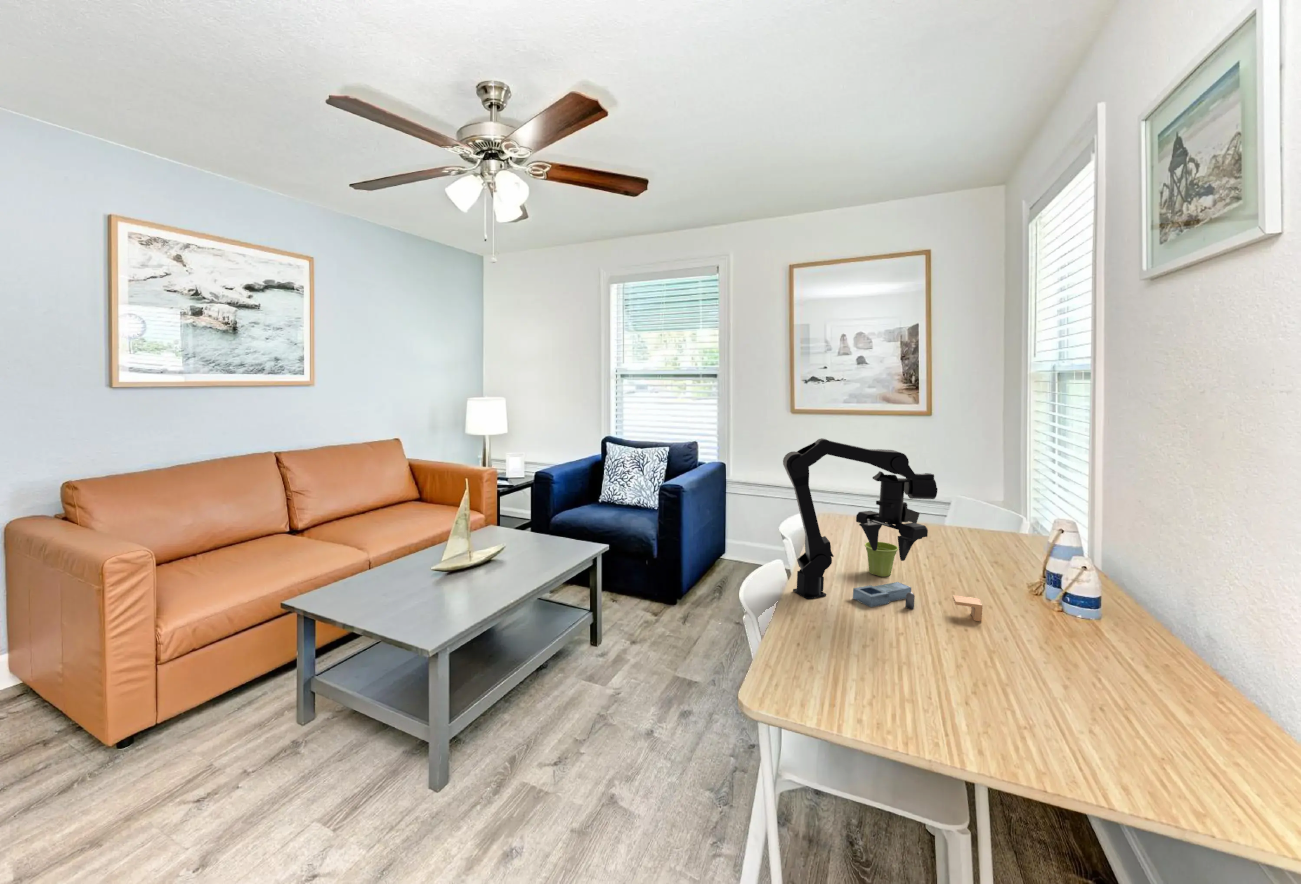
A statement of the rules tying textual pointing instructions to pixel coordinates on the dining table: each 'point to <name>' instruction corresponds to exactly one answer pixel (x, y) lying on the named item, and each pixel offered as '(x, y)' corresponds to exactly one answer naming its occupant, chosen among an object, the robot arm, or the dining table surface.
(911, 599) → the cylinder
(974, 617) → the keeper
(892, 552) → the plant pot
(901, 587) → the link
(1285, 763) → the dining table surface
